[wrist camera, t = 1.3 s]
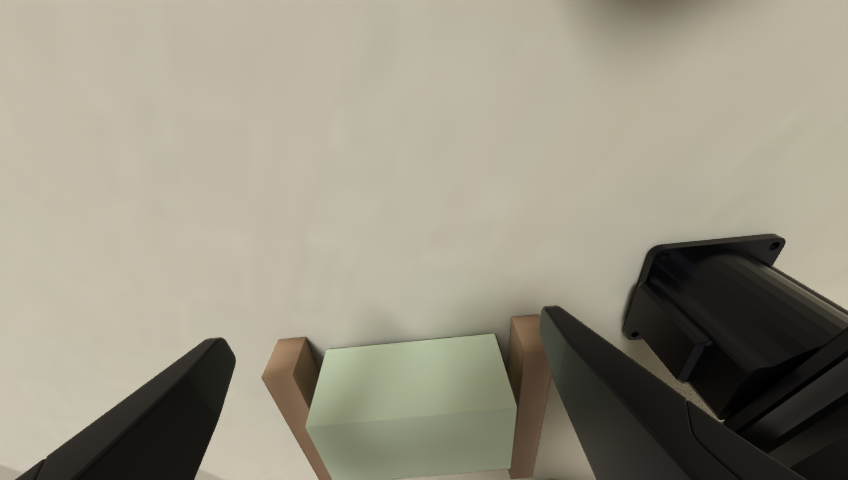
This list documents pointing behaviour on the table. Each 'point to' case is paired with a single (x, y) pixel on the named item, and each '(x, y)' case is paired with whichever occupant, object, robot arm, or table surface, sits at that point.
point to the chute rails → (527, 372)
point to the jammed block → (413, 409)
